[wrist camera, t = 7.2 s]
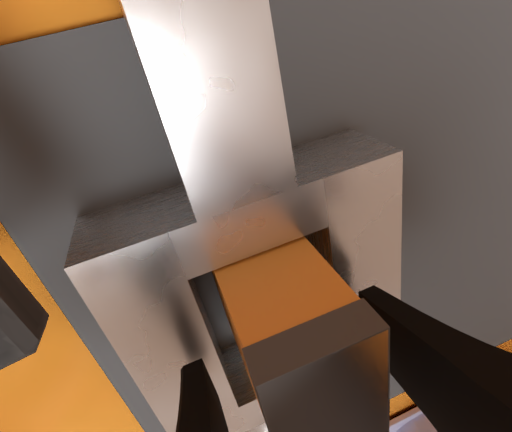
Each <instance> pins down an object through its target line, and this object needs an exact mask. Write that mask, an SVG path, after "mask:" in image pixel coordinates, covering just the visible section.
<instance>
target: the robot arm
mask: <svg viewBox="0 0 512 432" xmlns="http://www.w3.org/2000/svg"><path fill="white" fill-rule="evenodd" d="M358 294H359V298H360V299H361V298H364V299H365V300H366V301H367V302H368V303H369V305H370V306H371V307H372V308H373V309H374V310H375V311H376V312H377V313H378V314H379V316H380V317H381V318H382V319H383V320H384V321H385V322H386V323H387V324H388V325H389V327H390V374H391V375H392V376H393V378H394V379H395V380H396V381H397V382H398V384H399V385H400V386H401V387H402V388H403V390H404V391H405V392H406V393H407V394H408V396H409V397H410V398H411V399H412V400H413V402H414V403H415V404H416V405H417V407H415V408H413V409H411V410H409V411H407V412H405V413H403V414H402V415H400V416H398V417H396V418H394V419H392V420H390V421H389V432H512V353H510V352H507V351H505V350H502V349H500V348H497V347H495V346H492V345H490V344H488V343H485V342H483V341H481V340H478V339H476V338H474V337H472V336H470V335H467V334H465V333H463V332H461V331H459V330H457V329H455V328H453V327H451V326H449V325H447V324H445V323H443V322H441V321H439V320H437V319H435V318H433V317H431V316H429V315H427V314H425V313H423V312H421V311H420V310H418V309H416V308H414V307H412V306H410V305H409V304H407V303H405V302H403V301H401V300H400V299H398V298H396V297H394V296H393V295H391V294H389V293H387V292H385V291H384V290H382V289H380V288H378V287H376V286H375V285H373V286H371V287H369V288H366V289H364V290H361V291H359V292H358ZM176 432H229V430H228V426H227V423H226V420H225V416H224V413H223V409H222V406H221V402H220V399H219V396H218V394H217V391H216V389H215V387H214V384H213V382H212V380H211V378H210V375H209V373H208V371H207V369H206V366H205V364H204V362H203V360H202V358H201V359H198V360H196V361H194V362H191V363H189V364H186V365H184V366H183V367H182V368H181V382H180V399H179V409H178V418H177V425H176Z"/></svg>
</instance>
